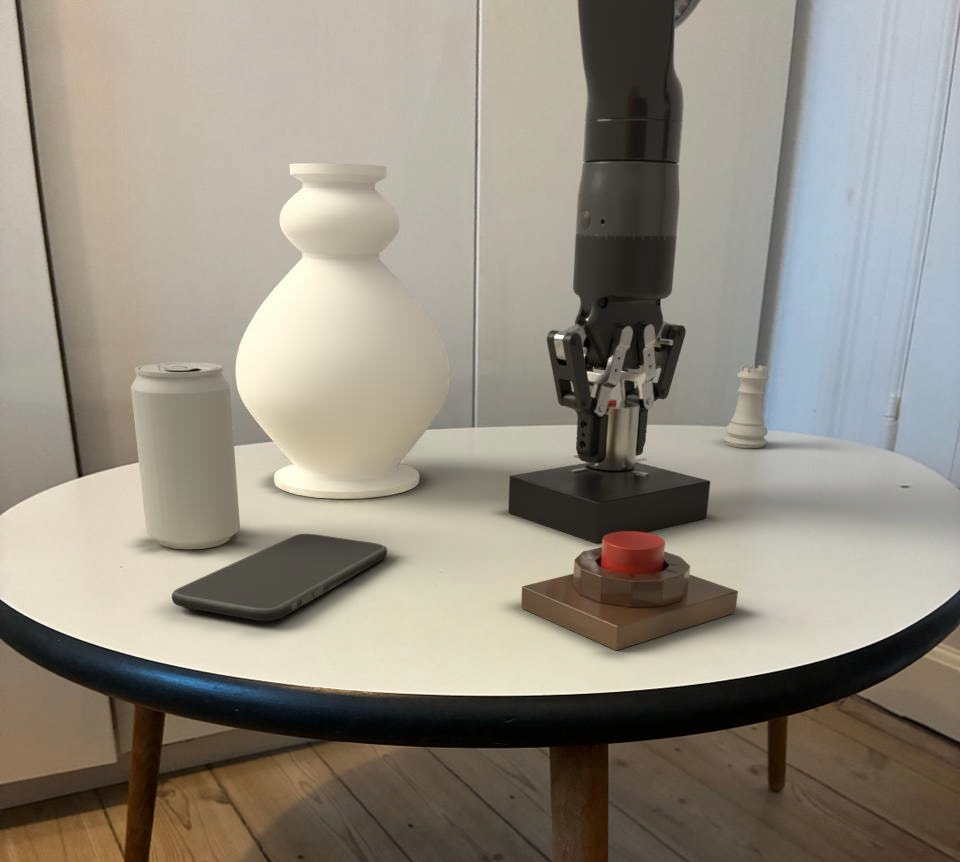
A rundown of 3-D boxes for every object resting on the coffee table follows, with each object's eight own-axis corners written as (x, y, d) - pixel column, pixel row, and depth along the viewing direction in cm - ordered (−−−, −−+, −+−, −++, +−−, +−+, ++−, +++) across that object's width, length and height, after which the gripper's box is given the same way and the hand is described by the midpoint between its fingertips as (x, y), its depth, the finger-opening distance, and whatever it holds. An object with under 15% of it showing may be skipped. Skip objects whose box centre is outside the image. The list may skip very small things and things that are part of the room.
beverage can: (167, 558, 68) (148, 374, 64) (134, 535, 73) (115, 362, 69) (255, 543, 72) (244, 368, 67) (219, 522, 77) (206, 357, 72)
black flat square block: (608, 485, 90) (610, 449, 88) (716, 516, 81) (720, 476, 80) (491, 507, 82) (492, 468, 81) (596, 543, 73) (599, 500, 72)
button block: (638, 577, 67) (641, 532, 65) (735, 612, 61) (741, 564, 60) (520, 608, 61) (522, 559, 60) (616, 650, 55) (620, 598, 54)
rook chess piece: (720, 446, 106) (729, 367, 103) (725, 439, 110) (734, 362, 107) (765, 450, 105) (775, 370, 102) (768, 442, 109) (777, 365, 106)
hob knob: (608, 458, 86) (613, 393, 84) (645, 466, 83) (650, 400, 81) (575, 464, 83) (578, 398, 81) (611, 473, 81) (616, 405, 79)
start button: (631, 555, 62) (633, 527, 61) (675, 570, 60) (678, 542, 59) (587, 565, 60) (589, 537, 59) (632, 582, 57) (634, 552, 57)
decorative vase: (233, 463, 94) (211, 166, 85) (419, 454, 100) (418, 173, 90) (256, 513, 79) (233, 155, 69) (475, 499, 84) (482, 165, 75)
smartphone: (393, 544, 69) (272, 612, 56) (393, 557, 70) (273, 628, 57) (298, 531, 72) (162, 593, 59) (299, 544, 72) (163, 608, 59)
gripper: (598, 230, 69) (583, 479, 76) (725, 232, 78) (702, 455, 85) (522, 228, 75) (515, 461, 81) (649, 230, 83) (633, 440, 90)
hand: (610, 456), depth 83 cm, fingers closed on hob knob, 4 cm apart
